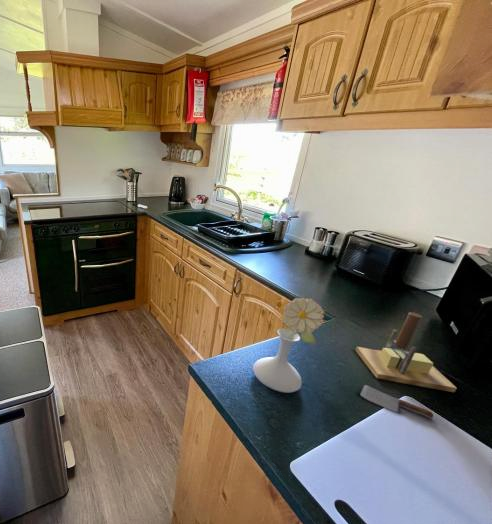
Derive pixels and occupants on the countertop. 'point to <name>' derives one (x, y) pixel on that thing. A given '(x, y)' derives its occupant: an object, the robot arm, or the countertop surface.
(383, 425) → the countertop surface
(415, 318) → the knife
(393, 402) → the cleaver
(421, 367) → the butter block
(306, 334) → the flower in vase
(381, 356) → the butter slice
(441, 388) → the butter board
